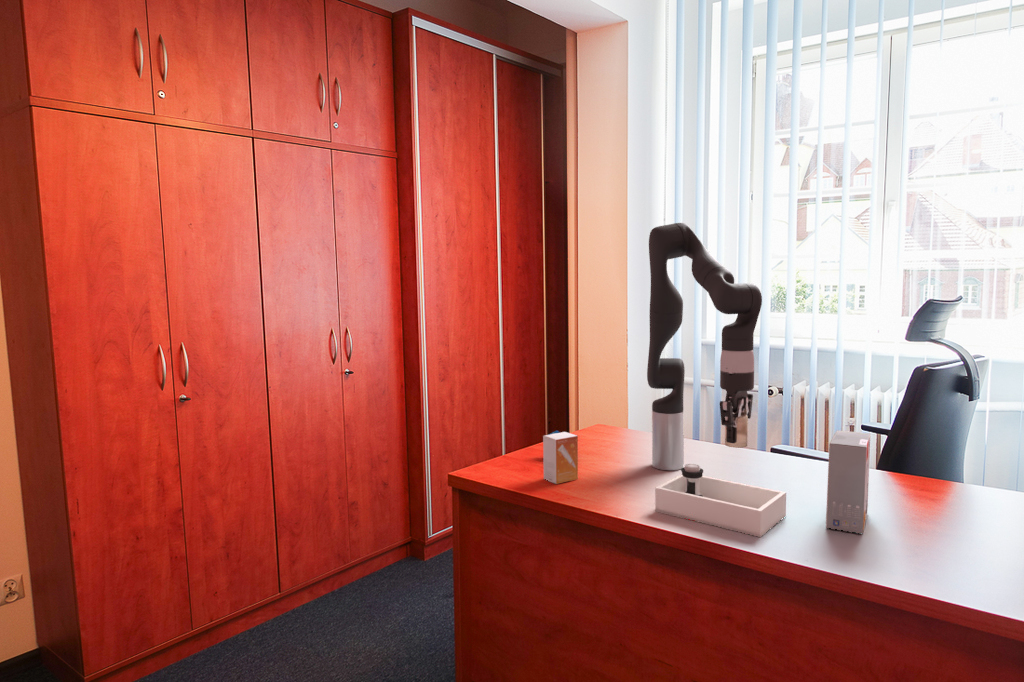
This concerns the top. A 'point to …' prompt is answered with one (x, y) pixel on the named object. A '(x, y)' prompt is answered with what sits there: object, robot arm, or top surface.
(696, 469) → the push button
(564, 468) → the small box
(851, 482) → the hard drive box
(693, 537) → the top surface
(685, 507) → the tote
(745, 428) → the maple cylinder
